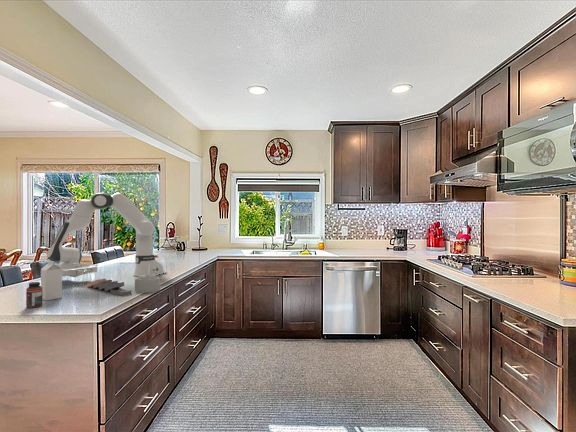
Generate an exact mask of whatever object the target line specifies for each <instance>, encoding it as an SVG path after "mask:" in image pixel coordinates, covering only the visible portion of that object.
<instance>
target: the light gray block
mask: <svg viewBox="0 0 576 432" xmlns="http://www.w3.org/2000/svg"><path fill="white" fill-rule="evenodd" d="M160 290H161V278H160V276H158V275H154V274H150V275H149V276H148V275H141V276H136V277H135V278H134V292H135V291H137V292H136V293H155V292H160Z"/></svg>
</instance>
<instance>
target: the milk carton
mask: <svg viewBox="0 0 576 432" xmlns="http://www.w3.org/2000/svg"><path fill="white" fill-rule="evenodd" d="M58 266H59V263H58V262H53V261H50V260H48V263H47V264H45V265H44V266H43V267H41V268H40V286H41V287H42V301H45V302H46V301H53V300H57V299H62V298H63V276H62V269H61V268H60V267H58Z"/></svg>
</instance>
